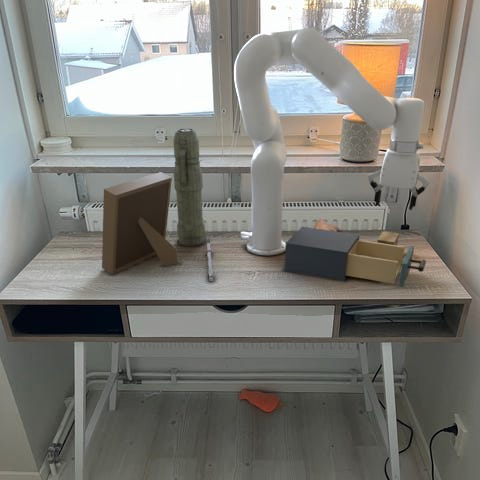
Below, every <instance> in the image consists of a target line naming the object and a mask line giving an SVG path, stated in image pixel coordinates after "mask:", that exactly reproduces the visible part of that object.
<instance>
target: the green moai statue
mask: <svg viewBox="0 0 480 480" xmlns="http://www.w3.org/2000/svg"><path fill="white" fill-rule="evenodd" d="M172 143H173V155H174V168H173V182H174V183H173V187H174V190H175V193H176V207H177V220H178V221H177V224H176V232H177V236H178V243H179V244H180V245H182V246H186V247H197V246H200V245H202V244H204V243H205V241H206V238H205V234H206V225H205V220H204V218H203V195H202V193H203V191H202V190H203V188H204V183H203V170H202V167H201V161H200V139H199V137H198V133H197V130H195V129H193V128H179V129H177V130H175V132H174V137H173V140H172Z"/></svg>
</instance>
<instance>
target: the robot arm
mask: <svg viewBox="0 0 480 480" xmlns="http://www.w3.org/2000/svg"><path fill="white" fill-rule="evenodd" d="M298 64H299V65H300V66H301V67H303V68H304V70H306V72H308V73H310V74H311V75H312V76H313V77H314V78H315V79H316V80H318V81H319V82H320V84H322V85H323V86H324V87H325V88H326V89H327V90H328V91H330V92H331V93H332V95H334V96H335V97H336V98H337V99H339V100H340V101H341V102H342V103H343V104H345V105H346V106H347V107H348V108H349V109H350V110H351V111H352V112H353V113H354V114H355V115H357V116H358V117H359V118H360V119H361V120H362V121H363V122H364V123H366V125H368V126H369V127H370V128H372V129H373V130H375V131H385V130H387V129H389V128H390V127H391V126H392V128H391V134H390V140H389V141H390V142H389V147H388V148H387V149H386V152H385V154H384V158H383V161H382V166H381V169H380V170H377V171H374V172H371V173H369V174H368V175H367V180H368V181H369V185H370V186H371V188H372V189H373V191H374V198H373V199H374V200H373V202H375V206H376V207H378V206H379V205H380V204H381V197H382V188H383V187H385V188H393V189H394V188H395V189H401V190H409V191H410V193H411V196H410V201H409V207H408V210H409V211H412V210H413V208H415V207H416V204H417V199H418V196H420V195H421V194H422V193H423V192H424V191H425V190H426V189H427V188H428V186H429V185H430V183H431V181H430V179H427V178H426V177H425V176H423V175H422V174H420V173H419V172H420V162H421V153H420V151H419V150H423V149H424V145H425V143H421V142H420V136H421V131H422V125H423V119H424V113H425V107H426V103H425V101H424V100H423V99H421V98H417V97H416V98H415V97H403V98H402V97H401V98H398V97H391V96H386V95H383V94H382V93H381V92H380V91H379V90H378V89H377V88H376V87H374V85H372V84H371V83H370V82H369V81H368V80H367V79H366V78H365V77H364V75H362V73H361V72H360V70H359V69H358V68H357V67H356V65H355V64H354V63H353V62H352V61H351V60H350V59H348V58H347V57H346V56H345V55H344V54H343V53H342V52H341V51H339V50H338V49H337V48H336V47H335V46H334V45H333V44H331V43H330V42H329V41H328V40H327V39H326V38H325V37H324V36H323V35H322V34H321V33H320V32H319V31H318V30H317V29H315V28H312V27H304V28H300V29H293V30H284V31H275V32H274V31H273V32H265V33H259V34H256V35H254V36H253V37H252V38H251V39H249V40H248V41H247V42H246V43H245V44H244V45H243V46H242V48H241V49H240V51H239V52H238V54H237V56H236V59H235V62H234V69H233V75H234V76H233V77H234V85H235V90H236V94H237V99H238V104H239V109H240V112H241V117H242V122H243V129H244V131H245V134H246V137H248V138H249V139H250V140H251V141H252V144H253V148H254V153H253V155H252V157H251V162H250V182H251V231H250V232H248V231H243V230H242V231H240V240H243V241H247V243H246V249H247V251H248V252H250V253H251V254H254V255H258V256H275V255H279V254H282V253H284V252H285V249H286V242H285V241H283V215H284V214H283V212H284V211H283V210H284V174H285V166H286V161H287V147H286V142H285V138H284V133H283V127H282V122H281V119H280V114H279V112H278V110H277V109H276V107H274V106H273V105H272V102H271V99H270V95H269V88H268V84H267V81H266V74H267V71H268V70H269V69H270V68H272V67H280V66H289V65H298ZM376 177H379V183H377V181H376V180H375V178H376ZM418 181H419V182H421V183H422V185H421V186H420V187H419V188H417V186H416V185H417V183H418Z"/></svg>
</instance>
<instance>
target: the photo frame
mask: <svg viewBox="0 0 480 480" xmlns="http://www.w3.org/2000/svg"><path fill="white" fill-rule="evenodd" d="M172 181H173V176H170V175H168V174H166V173H164V172H162V171H159V172H155V173H153V174H149V175H146V176H142V177H139V178H136V179H132V180H128V181H126V182H122V183H119V184H116V185H113V186H109V187H106V188H103V206H102V207H103V208H102V210H103V211H102V247H101V248H102V249H101V251H102V252H101V269H103V270H104V271H106V272H107V273H109V274H110V275H114V274H117V273H119V272H122V271H124V270H126V269H128V268H130V267H133V266H134V265H136V264H139V263H141V262H143V261H146V260H147V259H150V258H151V257H154V256H156V255H157V257H158V258H159V260H160V262H161V263H162V265H163V266H171V265H176V264H179V259H178V258H179V257H178V251H177V248H176V247H175V246H174V245H173V244H172V243H170V242H169V240H167V239H166V237H167V236H166V235H167V227H168V218H169V217H168V216H169V208H170V200H171V191H172Z"/></svg>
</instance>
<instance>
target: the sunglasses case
mask: <svg viewBox="0 0 480 480" xmlns="http://www.w3.org/2000/svg"><path fill="white" fill-rule="evenodd" d="M319 219H320V220H319ZM319 219H318V220H319V221H318V220H317V221H318V222H317V221H316V222H317V223H316V222H315V225H314V228H315V229H322V230H329V231H336V232H340V228H339V227H337V226H335V225H332V224H330V223H328V222H327V221H325V220H323V219H322V218H319Z"/></svg>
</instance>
